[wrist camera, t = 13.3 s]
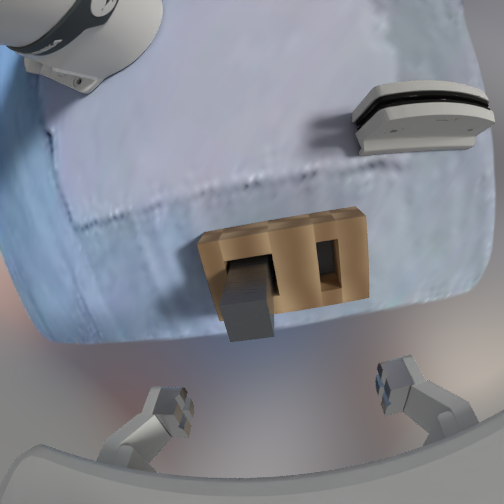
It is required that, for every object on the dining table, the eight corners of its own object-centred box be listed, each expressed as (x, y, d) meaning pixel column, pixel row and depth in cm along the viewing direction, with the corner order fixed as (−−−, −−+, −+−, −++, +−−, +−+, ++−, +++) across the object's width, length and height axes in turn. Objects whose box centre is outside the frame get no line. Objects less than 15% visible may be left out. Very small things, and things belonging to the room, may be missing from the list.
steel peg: (241, 280, 37) (230, 341, 26) (234, 250, 36) (219, 305, 24) (273, 275, 37) (274, 336, 25) (267, 245, 35) (266, 299, 24)
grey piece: (356, 156, 30) (383, 126, 20) (347, 118, 30) (367, 77, 20) (469, 149, 28) (514, 128, 18) (459, 115, 28) (499, 87, 18)
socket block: (224, 303, 38) (219, 321, 35) (204, 232, 35) (196, 244, 31) (360, 281, 36) (369, 297, 33) (355, 206, 33) (365, 215, 29)
